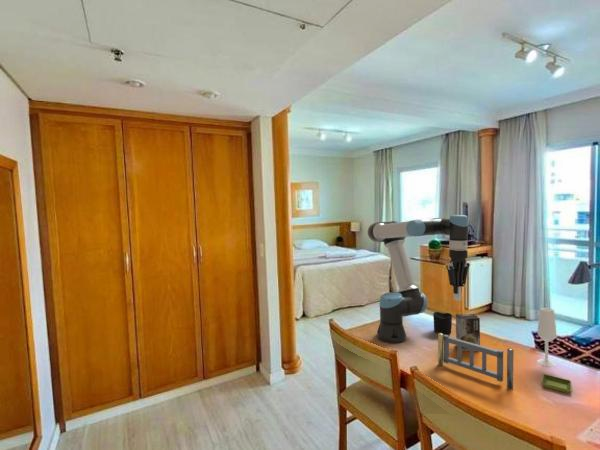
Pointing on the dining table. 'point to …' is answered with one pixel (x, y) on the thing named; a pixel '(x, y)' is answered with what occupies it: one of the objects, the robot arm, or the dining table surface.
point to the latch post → (440, 349)
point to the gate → (471, 366)
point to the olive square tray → (556, 383)
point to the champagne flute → (546, 332)
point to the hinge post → (510, 368)
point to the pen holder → (442, 323)
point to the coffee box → (468, 329)
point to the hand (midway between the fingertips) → (457, 300)
